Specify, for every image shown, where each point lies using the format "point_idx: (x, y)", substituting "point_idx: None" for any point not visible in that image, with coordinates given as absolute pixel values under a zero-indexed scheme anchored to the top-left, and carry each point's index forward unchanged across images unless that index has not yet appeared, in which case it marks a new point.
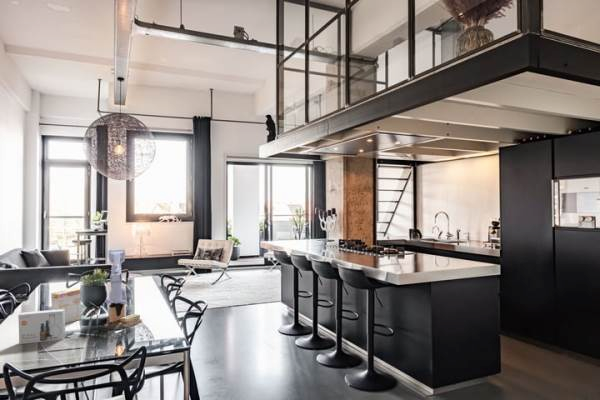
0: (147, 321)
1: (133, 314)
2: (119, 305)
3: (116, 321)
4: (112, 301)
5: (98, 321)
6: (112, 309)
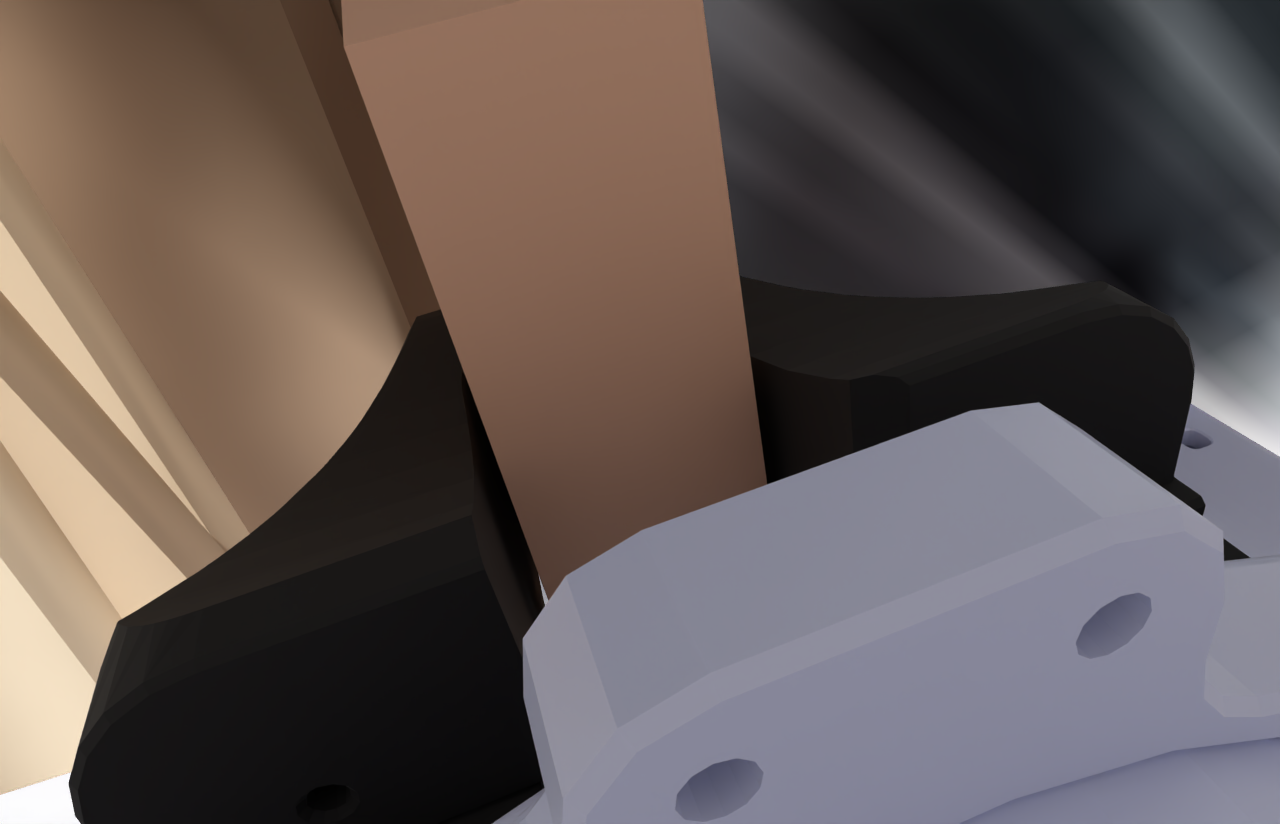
0: (41, 783)
1: (71, 752)
2: (119, 806)
3: (376, 170)
4: (1047, 796)
5: (1219, 114)
6: (374, 122)
